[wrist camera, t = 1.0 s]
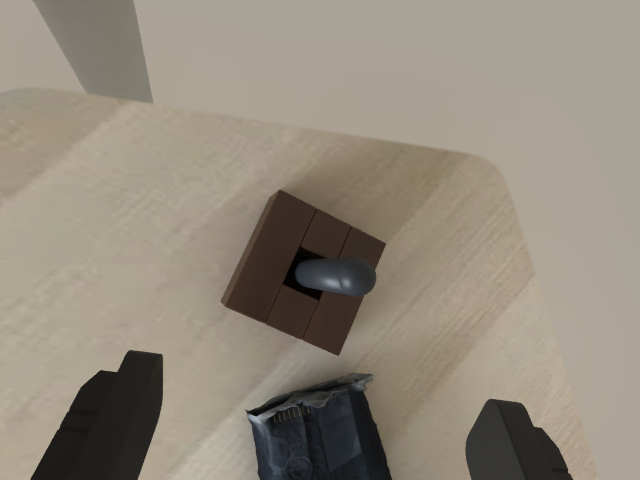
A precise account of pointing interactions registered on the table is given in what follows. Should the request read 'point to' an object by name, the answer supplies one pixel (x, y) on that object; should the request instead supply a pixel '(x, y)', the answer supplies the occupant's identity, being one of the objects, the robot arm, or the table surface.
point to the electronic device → (319, 434)
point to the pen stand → (274, 263)
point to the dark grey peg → (334, 275)
